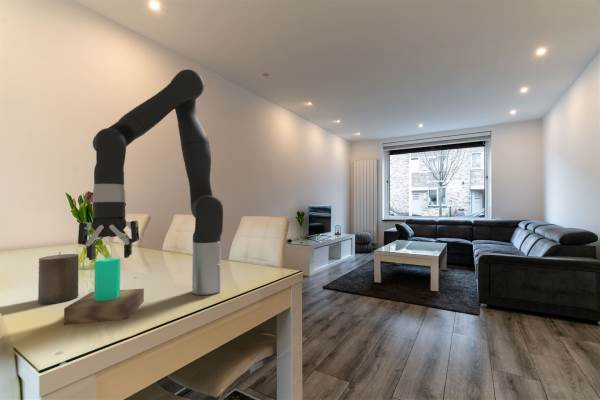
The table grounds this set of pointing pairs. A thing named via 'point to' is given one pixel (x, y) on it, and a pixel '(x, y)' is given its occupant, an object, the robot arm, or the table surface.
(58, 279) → the pillar candle
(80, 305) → the walnut stand
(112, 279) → the teal green tall block
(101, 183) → the robot arm
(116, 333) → the table surface
